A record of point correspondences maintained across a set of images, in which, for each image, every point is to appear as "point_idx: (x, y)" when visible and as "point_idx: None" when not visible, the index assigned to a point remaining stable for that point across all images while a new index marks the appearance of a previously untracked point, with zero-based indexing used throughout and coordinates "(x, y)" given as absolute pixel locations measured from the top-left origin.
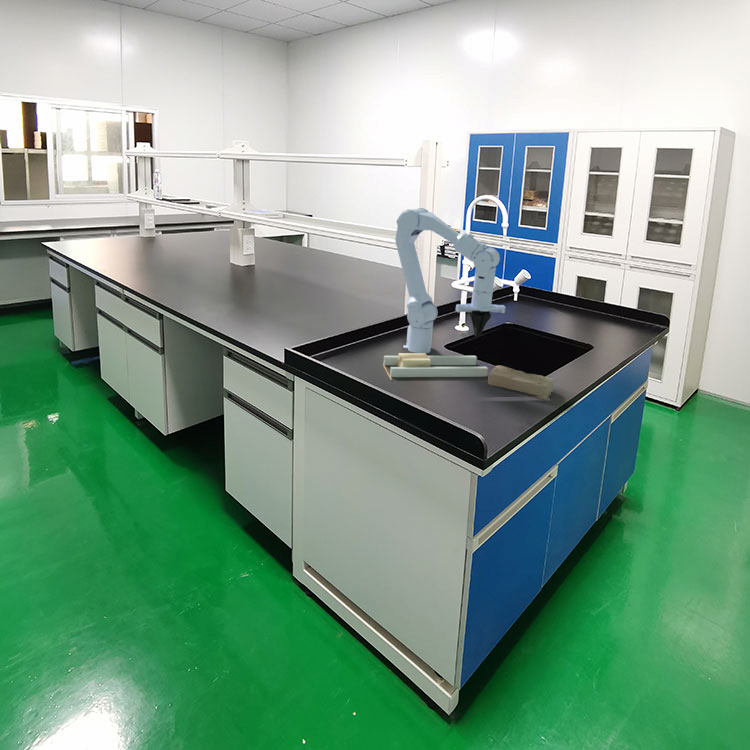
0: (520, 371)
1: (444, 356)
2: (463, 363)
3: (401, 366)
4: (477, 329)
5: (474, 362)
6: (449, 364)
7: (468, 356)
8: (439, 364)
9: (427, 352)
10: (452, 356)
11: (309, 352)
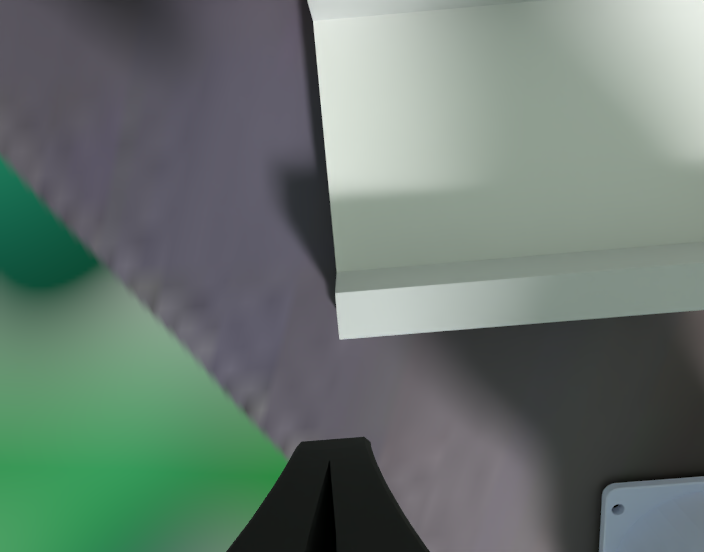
0: None
1: (662, 288)
2: (453, 265)
3: None
4: (376, 500)
5: (352, 277)
6: (577, 252)
7: (415, 309)
8: (667, 247)
9: (665, 512)
10: (579, 296)
11: None
